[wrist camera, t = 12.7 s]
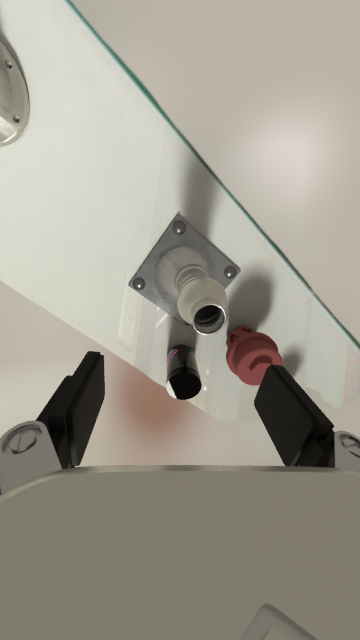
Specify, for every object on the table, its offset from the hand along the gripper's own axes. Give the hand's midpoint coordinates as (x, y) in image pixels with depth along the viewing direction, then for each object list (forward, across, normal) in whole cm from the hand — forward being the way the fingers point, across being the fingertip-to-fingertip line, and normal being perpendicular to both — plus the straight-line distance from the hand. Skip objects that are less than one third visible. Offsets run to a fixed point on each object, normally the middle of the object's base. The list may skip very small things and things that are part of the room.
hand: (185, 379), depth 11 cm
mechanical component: (+31, -18, +13) cm, 38 cm away
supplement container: (+31, -5, +19) cm, 37 cm away
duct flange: (+31, -3, +1) cm, 31 cm away
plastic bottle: (+30, -4, 0) cm, 30 cm away
